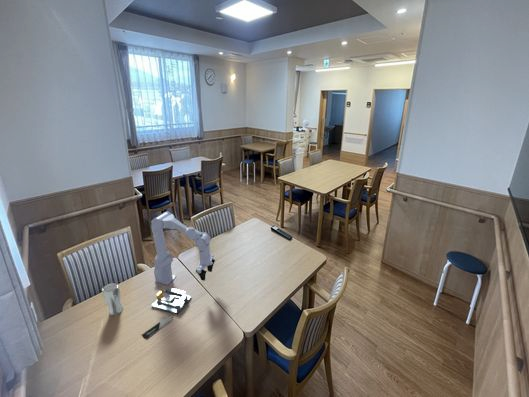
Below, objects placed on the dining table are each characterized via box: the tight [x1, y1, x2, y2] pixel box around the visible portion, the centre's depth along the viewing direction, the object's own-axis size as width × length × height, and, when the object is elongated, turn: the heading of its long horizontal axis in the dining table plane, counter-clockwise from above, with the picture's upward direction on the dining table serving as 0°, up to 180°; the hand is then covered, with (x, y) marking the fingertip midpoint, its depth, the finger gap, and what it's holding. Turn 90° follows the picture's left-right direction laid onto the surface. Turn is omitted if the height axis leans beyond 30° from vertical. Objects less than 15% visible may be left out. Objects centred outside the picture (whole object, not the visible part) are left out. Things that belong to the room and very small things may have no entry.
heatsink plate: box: [151, 287, 192, 316], centre depth 133 cm, size 16×12×4 cm
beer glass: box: [101, 282, 124, 316], centre depth 125 cm, size 7×7×15 cm
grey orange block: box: [156, 289, 175, 303], centre depth 133 cm, size 8×4×4 cm, turn 73°
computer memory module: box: [141, 314, 174, 340], centre depth 119 cm, size 15×1×4 cm
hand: (206, 275), depth 139 cm, fingers open, 7 cm apart
